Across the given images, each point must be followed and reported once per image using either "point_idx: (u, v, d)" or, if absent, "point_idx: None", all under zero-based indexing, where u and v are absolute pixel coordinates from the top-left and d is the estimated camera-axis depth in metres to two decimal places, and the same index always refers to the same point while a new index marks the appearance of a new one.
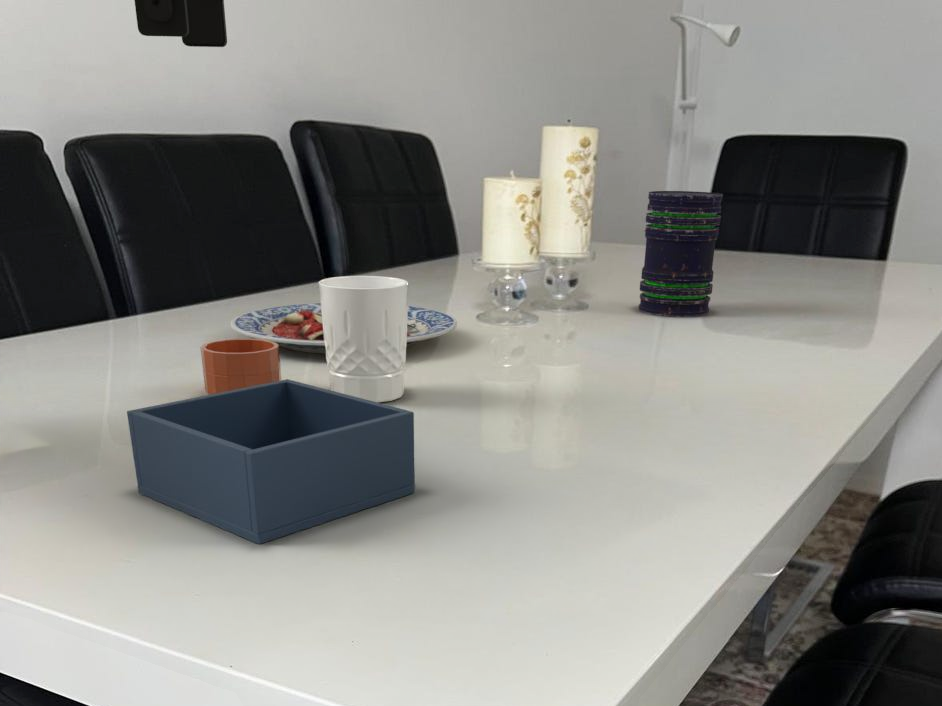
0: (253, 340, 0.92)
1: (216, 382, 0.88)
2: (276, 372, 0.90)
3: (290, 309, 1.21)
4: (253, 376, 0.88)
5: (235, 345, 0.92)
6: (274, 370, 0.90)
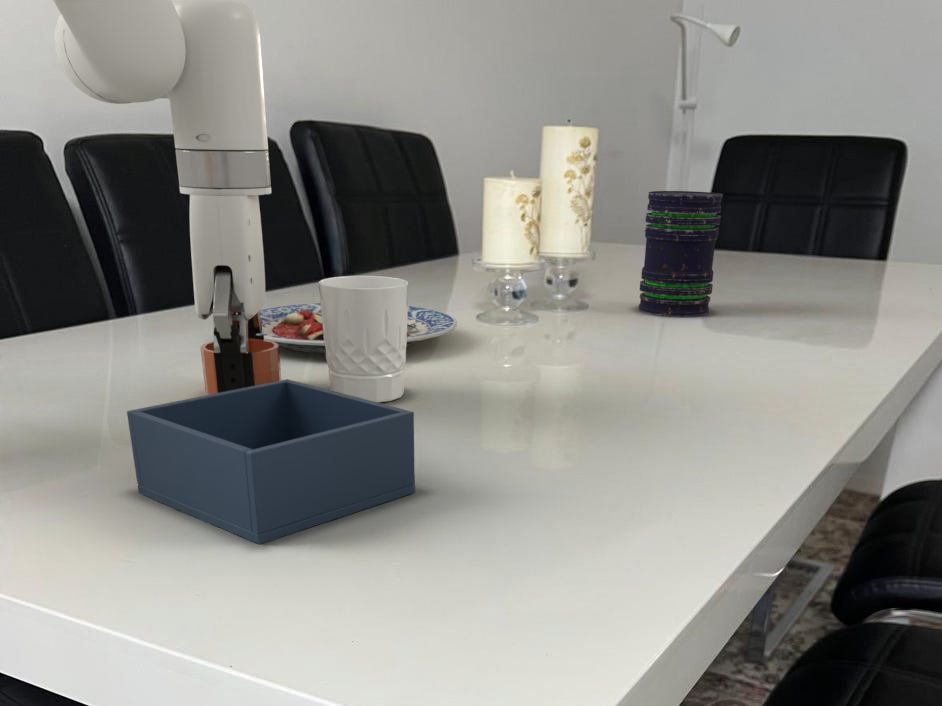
0: (253, 340, 0.92)
1: (216, 382, 0.88)
2: (276, 372, 0.90)
3: (290, 309, 1.21)
4: None
5: None
6: (274, 370, 0.90)
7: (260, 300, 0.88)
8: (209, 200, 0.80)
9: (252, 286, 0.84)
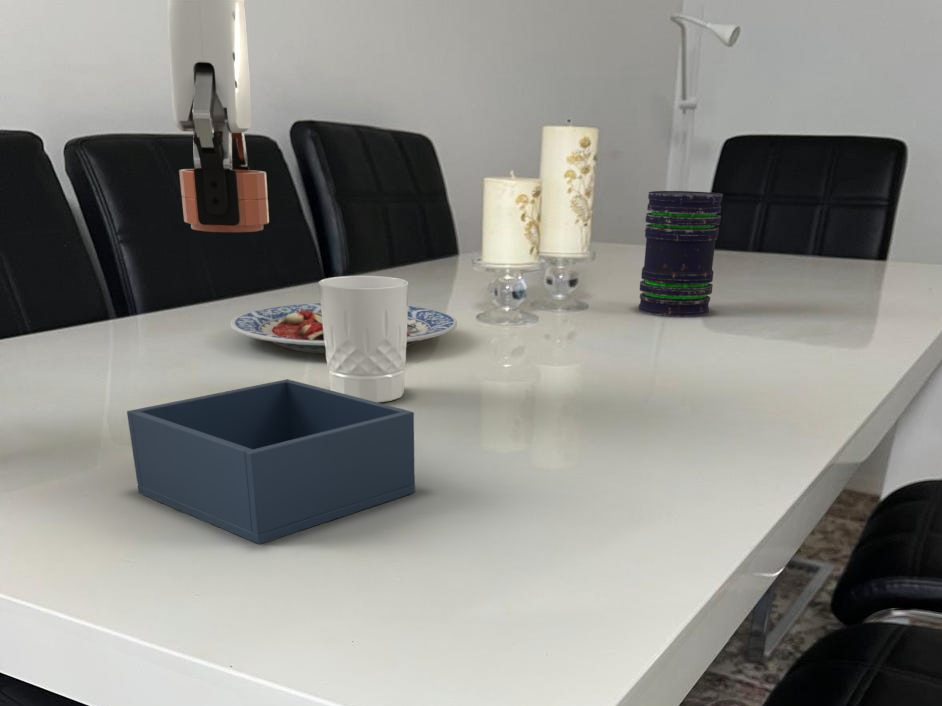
0: (237, 170, 0.84)
1: (196, 207, 0.80)
2: (263, 201, 0.82)
3: (290, 309, 1.21)
4: None
5: None
6: (261, 198, 0.81)
7: (245, 117, 0.80)
8: None
9: (237, 91, 0.76)
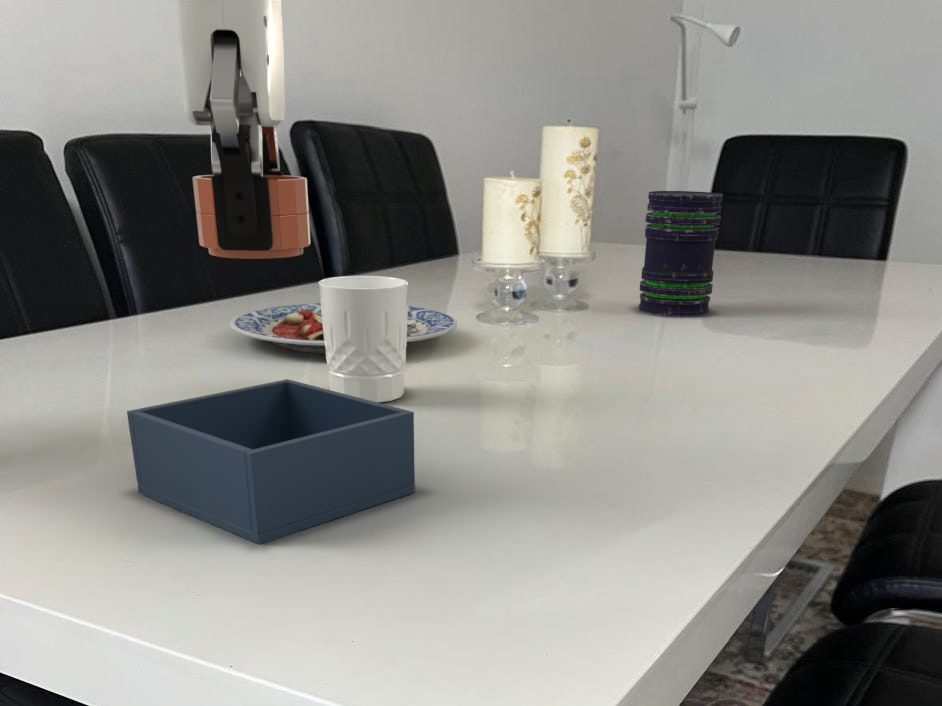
0: (269, 176, 0.64)
1: (215, 227, 0.60)
2: (303, 216, 0.62)
3: (290, 309, 1.21)
4: (271, 218, 0.60)
5: None
6: (301, 213, 0.61)
7: (279, 105, 0.60)
8: None
9: (269, 69, 0.56)
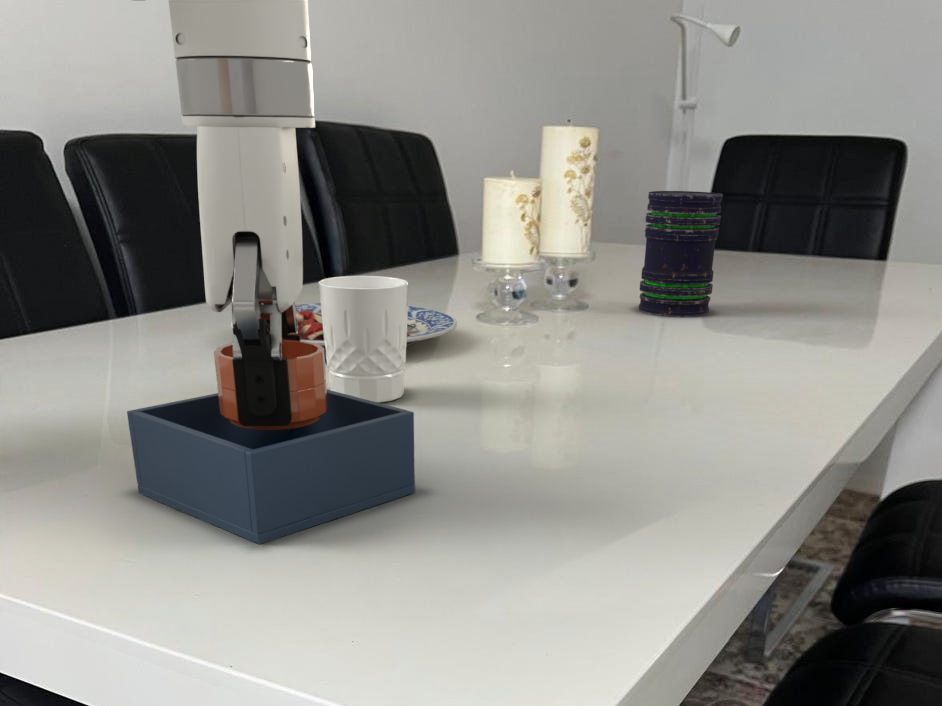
0: (287, 342, 0.66)
1: (236, 402, 0.62)
2: (321, 387, 0.64)
3: None
4: (290, 393, 0.62)
5: None
6: (318, 384, 0.63)
7: (298, 284, 0.62)
8: (226, 133, 0.54)
9: (289, 263, 0.57)
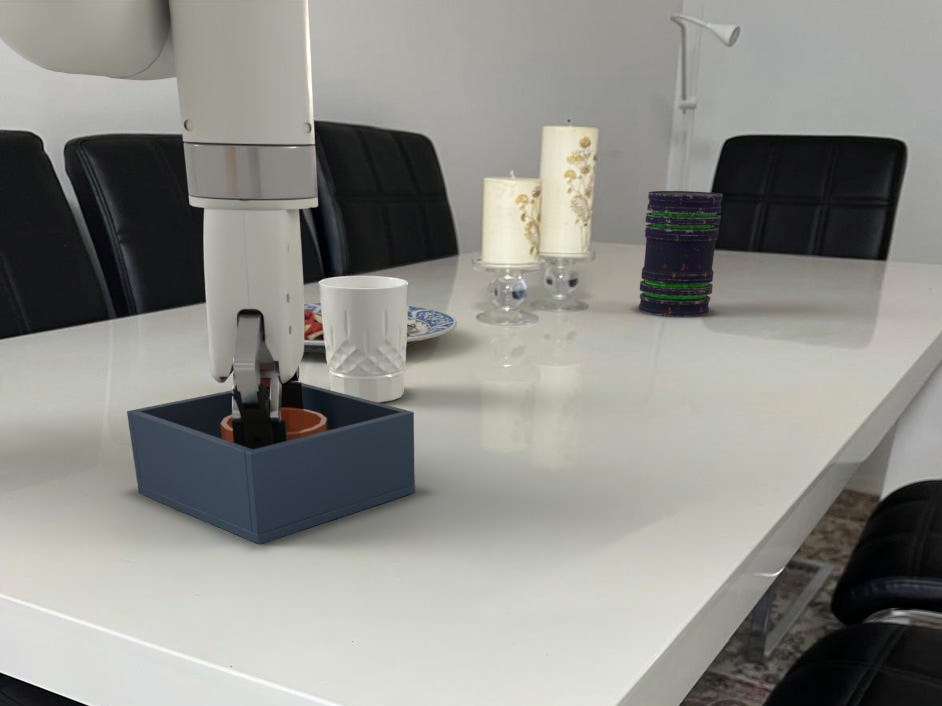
0: (291, 410, 0.68)
1: None
2: None
3: None
4: None
5: None
6: None
7: (299, 353, 0.64)
8: (231, 216, 0.56)
9: (291, 337, 0.59)
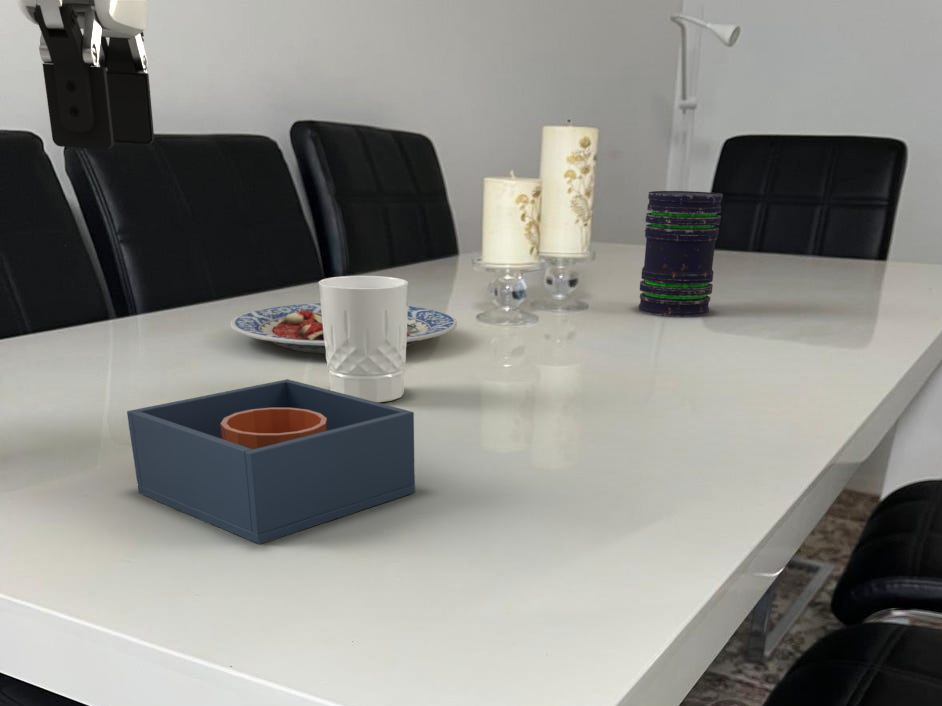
0: (291, 410, 0.68)
1: None
2: None
3: (290, 309, 1.21)
4: None
5: (266, 417, 0.68)
6: None
7: (131, 10, 0.57)
8: None
9: None
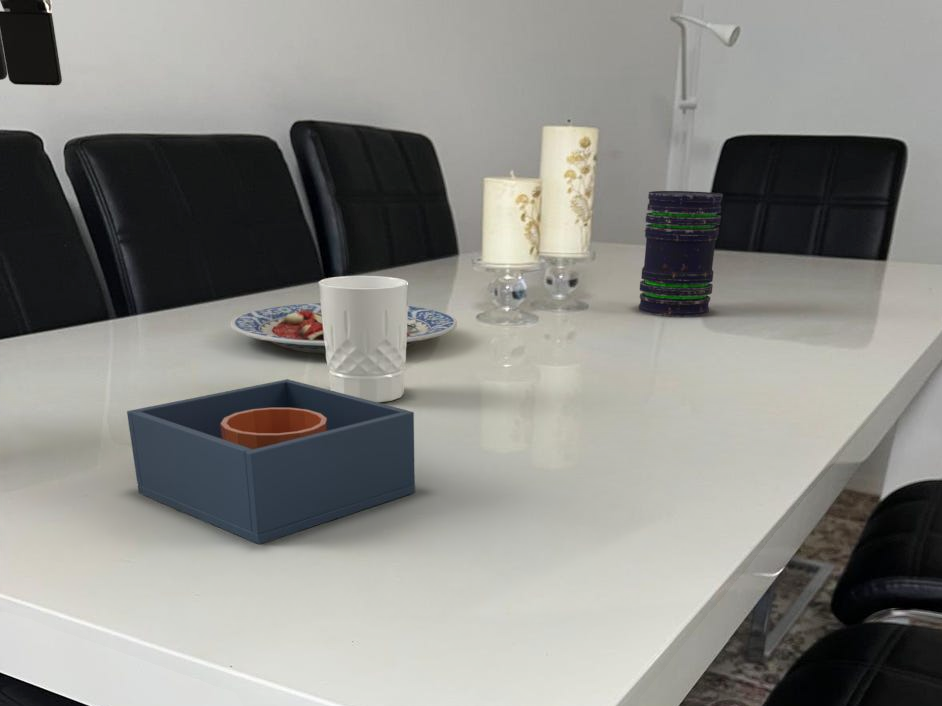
0: (291, 410, 0.68)
1: None
2: None
3: (290, 309, 1.21)
4: None
5: (266, 417, 0.68)
6: None
7: None
8: None
9: None
